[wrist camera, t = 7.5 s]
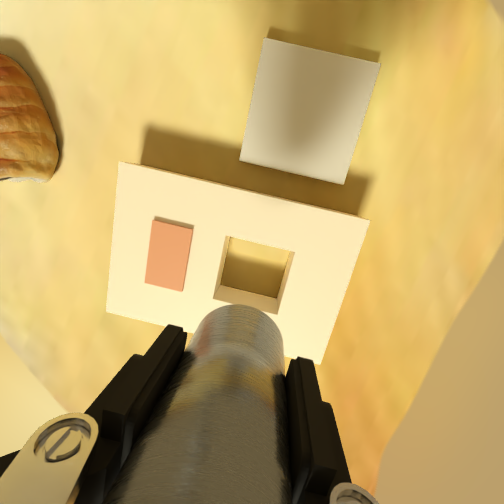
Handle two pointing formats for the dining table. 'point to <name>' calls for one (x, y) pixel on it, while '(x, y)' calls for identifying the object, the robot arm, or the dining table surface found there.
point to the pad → (307, 110)
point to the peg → (216, 421)
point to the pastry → (24, 128)
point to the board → (214, 254)
